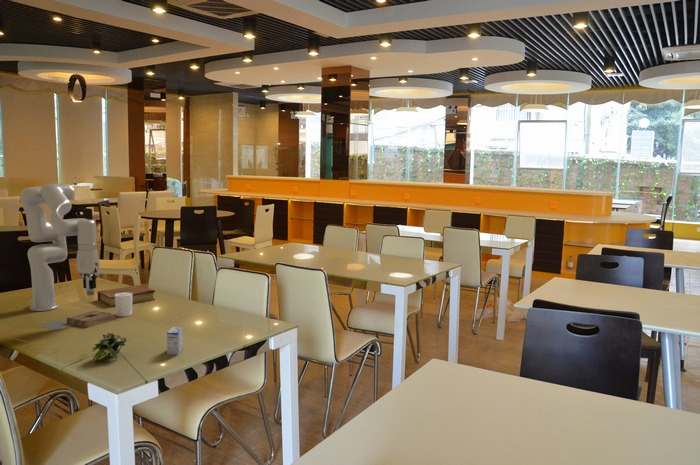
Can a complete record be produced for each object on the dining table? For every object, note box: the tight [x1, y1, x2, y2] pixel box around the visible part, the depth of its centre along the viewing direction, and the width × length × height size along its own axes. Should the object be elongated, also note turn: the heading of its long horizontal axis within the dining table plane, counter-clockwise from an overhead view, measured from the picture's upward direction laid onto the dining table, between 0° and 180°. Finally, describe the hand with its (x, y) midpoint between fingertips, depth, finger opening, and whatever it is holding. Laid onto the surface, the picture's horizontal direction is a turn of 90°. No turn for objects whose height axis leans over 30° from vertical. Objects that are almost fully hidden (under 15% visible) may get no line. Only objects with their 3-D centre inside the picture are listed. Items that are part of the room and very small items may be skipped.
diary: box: [97, 284, 156, 308], centre depth 295 cm, size 23×19×6 cm
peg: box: [85, 272, 95, 296], centre depth 251 cm, size 3×3×10 cm
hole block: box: [66, 309, 116, 328], centre depth 254 cm, size 14×14×3 cm
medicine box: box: [166, 326, 184, 356], centre depth 215 cm, size 8×4×9 cm, turn 5°
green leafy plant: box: [92, 332, 127, 363], centre depth 206 cm, size 11×11×12 cm
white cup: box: [115, 292, 133, 318], centre depth 266 cm, size 8×8×10 cm
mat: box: [38, 320, 75, 331], centre depth 248 cm, size 12×10×1 cm
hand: (89, 287), depth 252 cm, fingers closed on peg, 3 cm apart
